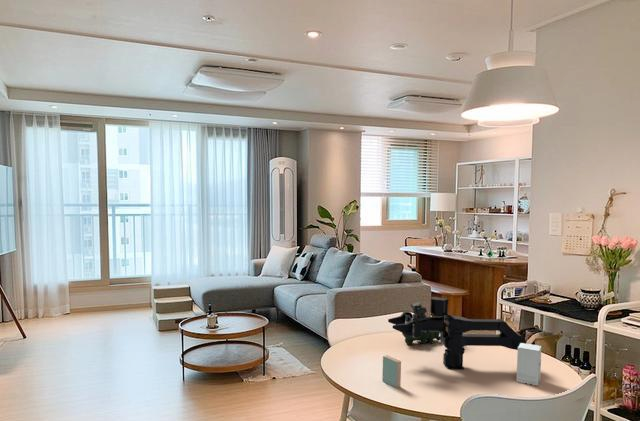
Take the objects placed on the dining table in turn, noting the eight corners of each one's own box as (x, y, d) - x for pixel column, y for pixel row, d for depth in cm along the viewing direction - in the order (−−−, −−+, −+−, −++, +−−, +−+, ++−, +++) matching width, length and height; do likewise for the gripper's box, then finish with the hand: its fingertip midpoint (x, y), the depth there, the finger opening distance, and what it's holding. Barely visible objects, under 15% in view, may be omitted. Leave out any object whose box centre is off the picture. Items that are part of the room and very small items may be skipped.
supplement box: (538, 386, 161) (539, 351, 161) (515, 381, 165) (516, 347, 165) (540, 380, 168) (542, 345, 167) (519, 375, 172) (520, 342, 171)
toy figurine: (435, 341, 218) (390, 341, 209) (439, 301, 219) (394, 300, 209) (448, 347, 210) (401, 347, 200) (452, 305, 210) (406, 304, 200)
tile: (386, 380, 164) (387, 355, 164) (400, 386, 158) (401, 361, 158) (382, 381, 163) (383, 356, 163) (396, 388, 157) (396, 362, 157)
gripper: (424, 298, 188) (386, 298, 188) (437, 309, 170) (395, 308, 169) (423, 325, 188) (385, 325, 188) (436, 339, 170) (394, 338, 169)
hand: (390, 323), depth 179 cm, fingers open, 9 cm apart
